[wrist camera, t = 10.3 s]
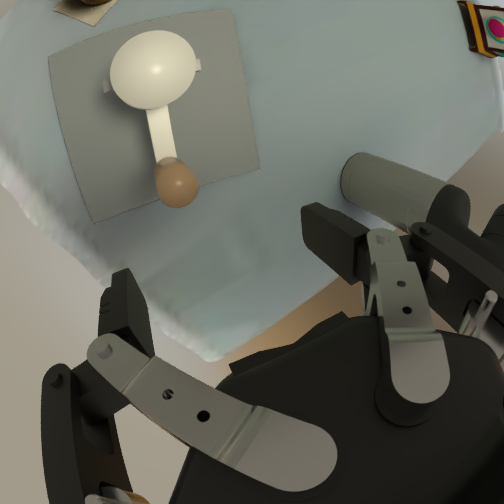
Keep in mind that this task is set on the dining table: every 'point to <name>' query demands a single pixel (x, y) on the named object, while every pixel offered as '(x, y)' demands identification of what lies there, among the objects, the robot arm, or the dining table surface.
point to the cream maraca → (158, 101)
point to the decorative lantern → (486, 28)
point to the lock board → (135, 120)
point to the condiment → (85, 9)
